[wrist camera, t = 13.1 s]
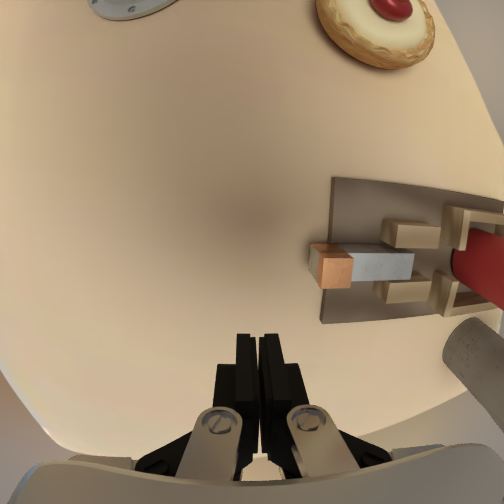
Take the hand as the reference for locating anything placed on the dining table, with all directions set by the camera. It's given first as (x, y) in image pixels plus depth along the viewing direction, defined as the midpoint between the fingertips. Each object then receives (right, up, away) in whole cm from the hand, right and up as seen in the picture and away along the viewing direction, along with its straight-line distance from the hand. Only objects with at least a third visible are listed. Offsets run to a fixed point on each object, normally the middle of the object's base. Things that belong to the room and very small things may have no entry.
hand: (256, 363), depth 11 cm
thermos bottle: (+30, -8, +20) cm, 36 cm away
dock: (+19, +4, +16) cm, 25 cm away
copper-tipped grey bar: (+9, +4, +14) cm, 17 cm away
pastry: (+11, +27, +9) cm, 31 cm away
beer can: (+25, +4, +15) cm, 29 cm away
